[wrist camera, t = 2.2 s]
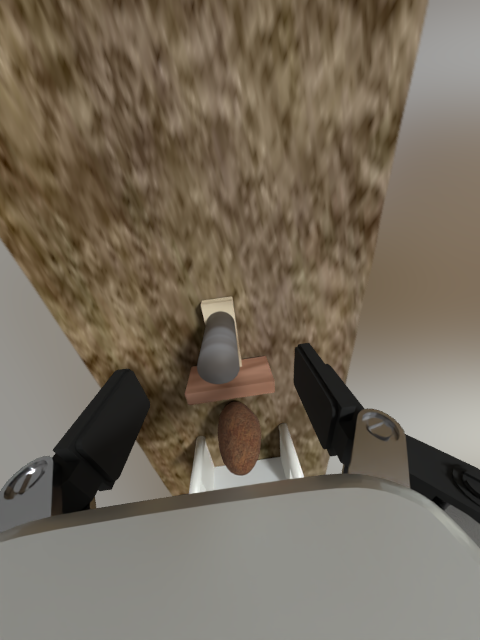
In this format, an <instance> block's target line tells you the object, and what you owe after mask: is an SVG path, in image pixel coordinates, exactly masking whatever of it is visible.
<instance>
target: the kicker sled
mask: <svg viewBox="0 0 480 640" xmlns="http://www.w3.org/2000/svg"><path fill="white" fill-rule="evenodd" d="M201 308H202V313H203V317H204V321H205V325H206V327H205V332H204V336H203V341H202V346H201V350H200V355H199V359H198V364H197V366H194V367H191V371H190V375H189V379H188V383H187V387H186V391H185V397H186V399H187V402H188V405H193V404H200V403H207V402H213V401H220V400H227V399H233V398H240V397H246V396H253V395H260V394H266V393H273V392H275V384H274V378H273V376H272V373H271V370H270V367H269V364H268V361H267V358H266V356H263V357H256V358H249V359H242V360H241V355H240V348H239V341H238V334H237V327H236V320H235V314H234V307H233V300H232V297H225V298H218V299H211V300H203V301H202V303H201Z"/></svg>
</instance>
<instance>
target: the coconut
mask: <svg viewBox="0 0 480 640" xmlns="http://www.w3.org/2000/svg"><path fill="white" fill-rule="evenodd" d="M218 440H219V448H220V453H221V456H222V459H223V462H224V464H225V465H226V467H227V469H228V470H229V471H230V472H231V473H233V474H235V475H239V476H243V475H246V474H248V473H249V472H250V471H251V470H252V469H253V468H254V466H255V464H256V462H257V460H258V457H259V454H260V446H261V429H260V424H259V420H258V418H257V416H256V415H255V414H254V413H253V412H252V411H251V410H250V409H249V408H248V407H247V406H246V405H244V404H243V403H241V402H231V403H229V404H228V405H227V406H226V407H225V408H224V409H223V410H222V412H221V414H220V417H219V424H218Z"/></svg>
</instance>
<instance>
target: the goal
mask: <svg viewBox="0 0 480 640" xmlns="http://www.w3.org/2000/svg"><path fill="white" fill-rule="evenodd" d="M278 428H279V431H280V457H276V458H269V459H263V460H257V462H256V464H255V466H254V468H253V469H252V470H251V471H250V472H249V473H248V474H246V475H243V476H239V475H235V474H233V473H231V472H230V471H229V470H228V469H227V467H226V465H225V466H219V467H214V464H213V461H212V459H211V456H210V453H209V450H208V447H207V445H206V442H205V439H206V438H205V437H204V436H199V437H197V439H196V447H195V454H194V461H193V468H192V475H191V482H190V489H189V494H192V493H199V492H205V491H212V490H218V489H225V488H232V487H239V486H245V485H252V484H259V483H266V482H273V481H280V480H287V479H295V478H303V477H304V476H303V472H302V469H301V466H300V463H299V460H298V457H297V454H296V451H295V448H294V445H293V442H292V439H291V436H290V433H289V430H288V427H287V424H285V423H282V424H280V425H279V426H278Z"/></svg>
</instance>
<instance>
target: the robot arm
mask: <svg viewBox="0 0 480 640" xmlns="http://www.w3.org/2000/svg"><path fill="white" fill-rule="evenodd" d="M294 385H295V388H296V390H297V392H298V395H299V397H300V399H301V401H302V404H303V406H304V408H305V410H306V412H307V415H308V417H309V419H310V421H311V424H312V426H313V428H314V430H315V432H316V435H317V437H318V439H319V441H320V444H321V446H322V447H323V449H327V451H328V453H329V455H330V456H336V455H337V456H338V458H339V460H340V462H341V463H343V469H342V474H330V475H319V476H311V477H303V478H295V479H287V480H280V481H273V482H266V483H259V484H252V485H245V486H239V487H232V488H225V489H218V490H212V491H205V492H199V493H192V494H185V495H179V496H172V497H166V498H159V499H153V500H147V501H140V502H134V503H127V504H121V505H115V506H109V507H102V508H96V502H95V495H96V493H97V491H98V490H99V491H103V490H111V489H112V487H113V485H114V483H115V481H116V480H117V479H118V478H119V477H120V475H121V472H122V470H123V468H124V465H125V463H126V461H127V459H128V456H129V454H130V452H131V449H132V447H133V445H134V442H135V440H136V438H137V436H138V433H139V431H140V429H141V426H142V424H143V422H144V419H145V417H146V415H147V412H148V410H149V408H150V402H149V400H148V398H147V396H146V394H145V392H144V390H143V389H142V387H141V385H140V383H139V381H138V379H137V377H136V376H135V374H134V372H133V371H131V370H130V369H121V370H116V371H115V372H114V373H113V375H112V376H111V377H110V378H109V380H108V381H107V382H106V383H105V385H104V386H103V387H102V388H101V390H100V391H99V392H98V394H97V395H96V396H95V398H94V399H93V400H92V401H91V402H90V404H89V405H88V406H87V407H86V409H85V410H84V411H83V412H82V414H81V415H80V416H79V417H78V419H77V420H76V421H75V422H74V424H73V425H72V426H71V428H70V429H69V430H68V431H67V433H66V434H65V435H64V436H63V438H62V439H61V440H60V441H59V443H58V444H57V445H56V447H55V448H54V449H53V451H54V452H55V453H56V454H55V455H54V456H53V457H50V456H43V457H40V458H37V459H35V460H34V461H31V462H30V463H28V464H27V465H25V466H24V467H22V468H21V469H20V470H19V471H18V472H16V473H15V474H14V475H13V476H12V477H11V478H10V479H9V480H8V481H7V482H6V484H5V485H4V486H3V488H2V489H1V491H0V640H480V470H479V469H478V468H476V467H474V466H472V465H470V464H467V463H466V462H463V461H461V460H459V459H457V458H455V457H453V456H451V455H449V454H446V453H444V452H442V451H440V450H438V449H436V448H434V447H431V446H429V445H427V444H425V443H423V442H421V441H418V440H416V439H414V438H412V437H410V436H408V435H406V434H405V433H404V430H403V429H402V427H401V426H400V424H399V423H398V422H397V421H396V420H395V419H394V418H392V417H391V416H389V415H388V414H386V413H384V412H382V411H379V410H376V409H364V408H363V406H362V405H361V404H360V403H359V402H358V400H357V399H356V398H355V396H354V395H353V394H352V392H351V391H350V390H349V389H348V387H347V386H346V385H345V384H344V382H343V381H342V380H341V378H340V377H339V376H338V375H337V373H336V372H335V371H334V370H333V368H332V367H331V366H330V365H328V364H325V363H324V362H323V361H322V359H321V358H320V357H319V355H318V354H317V353H316V352H315V350H314V349H313V348H312V346H311V345H310V344H309V343H305V344H299V345H298V347H295V359H294Z"/></svg>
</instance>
